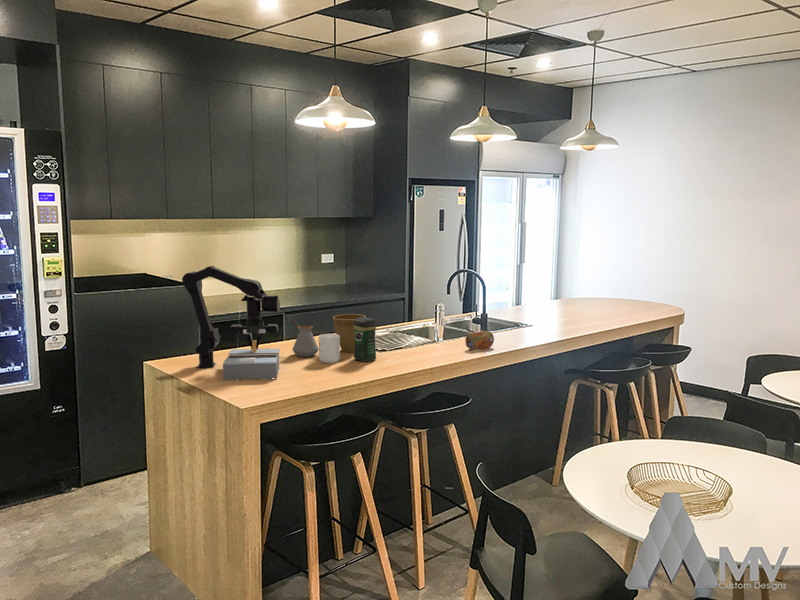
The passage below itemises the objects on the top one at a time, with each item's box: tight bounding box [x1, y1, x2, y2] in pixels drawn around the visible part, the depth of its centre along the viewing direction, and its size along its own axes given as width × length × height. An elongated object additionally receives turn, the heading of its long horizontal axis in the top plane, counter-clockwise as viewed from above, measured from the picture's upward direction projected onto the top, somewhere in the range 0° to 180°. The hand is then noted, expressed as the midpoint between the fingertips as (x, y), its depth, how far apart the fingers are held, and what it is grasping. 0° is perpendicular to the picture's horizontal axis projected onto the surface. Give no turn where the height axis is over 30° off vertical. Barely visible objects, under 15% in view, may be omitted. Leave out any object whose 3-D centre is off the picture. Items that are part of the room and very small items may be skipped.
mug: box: [318, 333, 341, 364], centre depth 279 cm, size 12×9×11 cm
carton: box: [222, 353, 280, 381], centre depth 255 cm, size 16×20×6 cm
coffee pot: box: [287, 317, 319, 358], centre depth 292 cm, size 21×12×15 cm, turn 34°
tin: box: [464, 330, 495, 351], centre depth 305 cm, size 15×3×8 cm, turn 118°
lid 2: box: [222, 357, 277, 366], centre depth 251 cm, size 8×20×2 cm, turn 97°
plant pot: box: [332, 313, 367, 353], centre depth 298 cm, size 15×15×16 cm
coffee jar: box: [353, 317, 377, 362], centre depth 281 cm, size 10×8×19 cm
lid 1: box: [228, 339, 281, 356], centre depth 266 cm, size 8×20×5 cm, turn 97°
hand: (254, 349), depth 266 cm, fingers closed on lid 1, 2 cm apart
